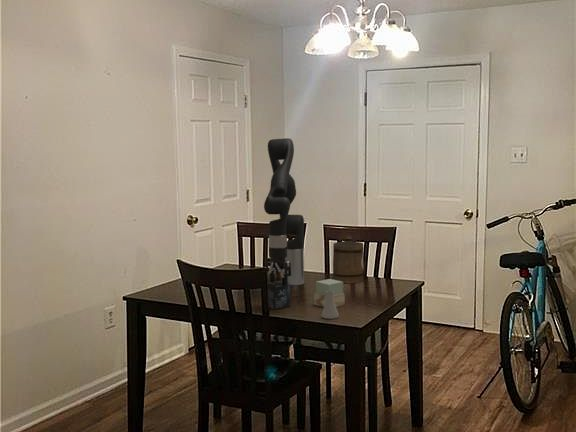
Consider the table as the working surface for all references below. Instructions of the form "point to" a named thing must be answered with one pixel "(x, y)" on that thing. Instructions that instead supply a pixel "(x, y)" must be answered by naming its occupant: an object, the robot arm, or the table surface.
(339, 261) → the wooden container
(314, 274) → the table surface
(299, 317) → the table surface
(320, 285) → the tower top
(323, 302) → the tower base
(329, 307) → the flask
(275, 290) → the box
